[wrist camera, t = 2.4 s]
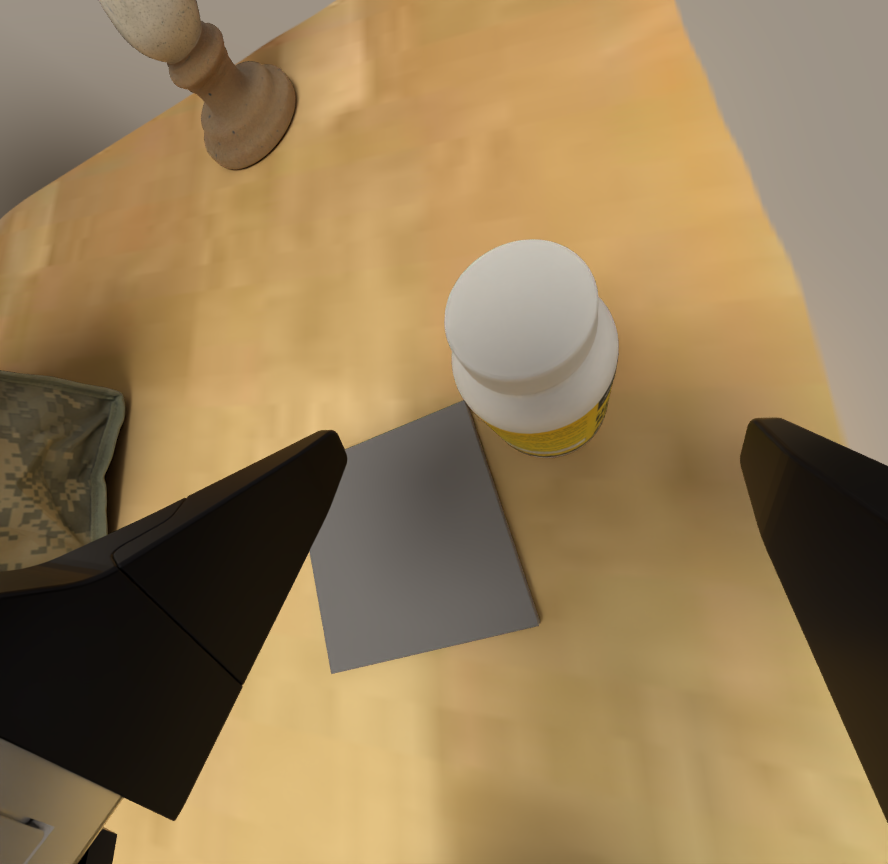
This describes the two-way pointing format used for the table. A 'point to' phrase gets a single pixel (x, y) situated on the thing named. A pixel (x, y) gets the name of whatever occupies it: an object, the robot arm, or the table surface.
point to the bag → (53, 465)
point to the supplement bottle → (533, 346)
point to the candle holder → (211, 77)
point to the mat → (417, 547)
